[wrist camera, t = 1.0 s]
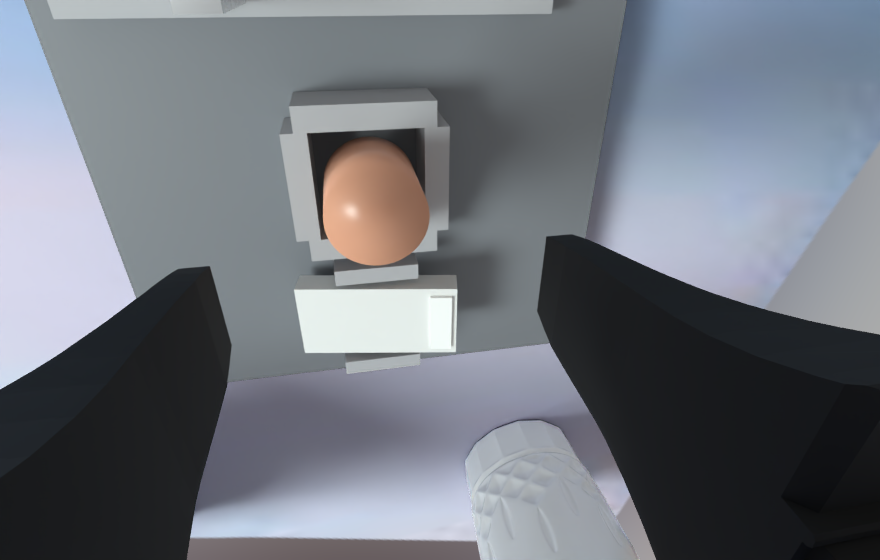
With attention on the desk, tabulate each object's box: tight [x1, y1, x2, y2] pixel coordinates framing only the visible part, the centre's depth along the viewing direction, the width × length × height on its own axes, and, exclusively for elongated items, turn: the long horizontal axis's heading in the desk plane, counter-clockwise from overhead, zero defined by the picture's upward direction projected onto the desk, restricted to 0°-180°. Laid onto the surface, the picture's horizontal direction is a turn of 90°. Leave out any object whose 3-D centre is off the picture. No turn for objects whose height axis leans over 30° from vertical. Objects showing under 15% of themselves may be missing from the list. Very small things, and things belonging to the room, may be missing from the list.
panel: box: [24, 0, 627, 382], centre depth 18 cm, size 19×18×4 cm
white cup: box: [465, 420, 640, 560], centre depth 27 cm, size 8×8×10 cm
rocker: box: [294, 275, 457, 353], centre depth 20 cm, size 3×6×1 cm, turn 90°
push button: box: [323, 137, 430, 266], centre depth 16 cm, size 3×3×3 cm
